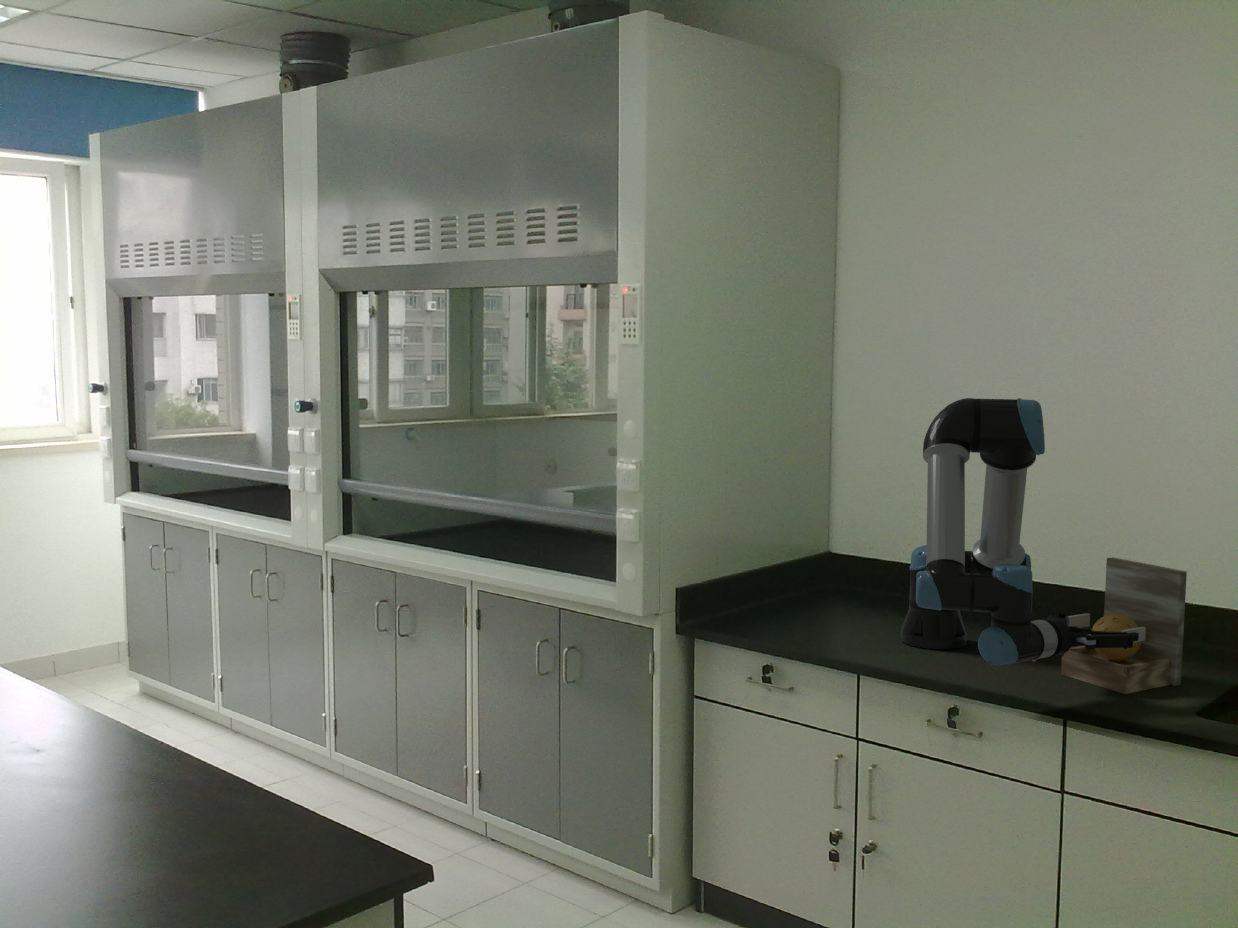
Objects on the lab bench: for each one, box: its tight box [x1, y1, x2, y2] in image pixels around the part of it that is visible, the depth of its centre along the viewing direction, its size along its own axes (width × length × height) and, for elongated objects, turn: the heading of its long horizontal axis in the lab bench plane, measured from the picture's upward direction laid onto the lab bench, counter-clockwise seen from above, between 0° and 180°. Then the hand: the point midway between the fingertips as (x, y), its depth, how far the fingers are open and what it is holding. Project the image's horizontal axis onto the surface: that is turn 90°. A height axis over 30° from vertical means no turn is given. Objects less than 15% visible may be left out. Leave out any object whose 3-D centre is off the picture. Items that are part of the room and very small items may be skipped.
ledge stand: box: [1060, 556, 1188, 695], centre depth 245 cm, size 16×18×24 cm
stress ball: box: [1090, 614, 1141, 662], centre depth 245 cm, size 10×10×10 cm
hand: (1115, 626), depth 244 cm, fingers open, 13 cm apart
